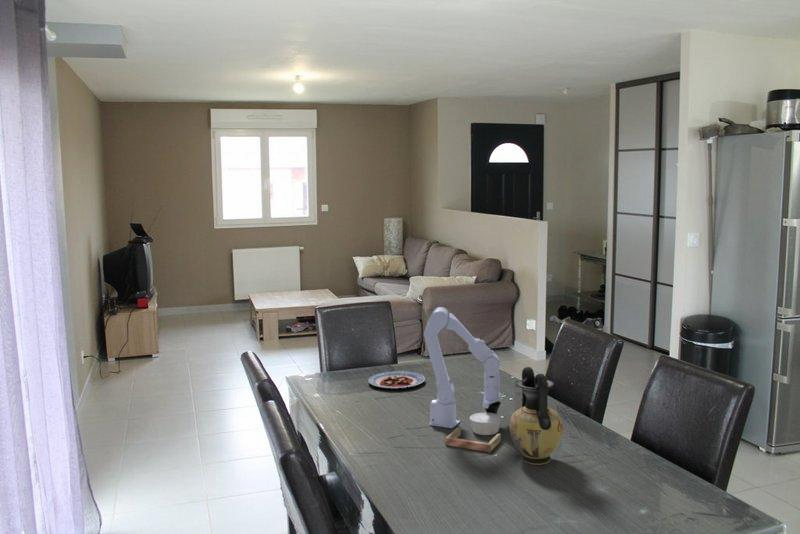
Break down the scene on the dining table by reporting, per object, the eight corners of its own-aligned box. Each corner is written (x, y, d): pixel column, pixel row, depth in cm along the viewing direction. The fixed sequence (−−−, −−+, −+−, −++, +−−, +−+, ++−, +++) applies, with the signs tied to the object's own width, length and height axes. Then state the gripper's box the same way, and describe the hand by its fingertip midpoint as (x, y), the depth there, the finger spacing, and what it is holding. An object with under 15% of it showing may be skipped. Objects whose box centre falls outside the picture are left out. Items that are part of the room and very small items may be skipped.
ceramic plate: (425, 391, 303) (425, 385, 303) (366, 392, 303) (366, 386, 303) (424, 375, 328) (424, 369, 328) (370, 376, 329) (369, 370, 329)
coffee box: (532, 430, 253) (532, 387, 251) (514, 429, 254) (514, 386, 252) (533, 421, 262) (532, 380, 260) (515, 420, 263) (515, 379, 261)
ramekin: (463, 432, 253) (463, 418, 252) (482, 423, 261) (481, 410, 260) (488, 439, 245) (488, 424, 244) (506, 430, 253) (506, 416, 253)
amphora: (499, 454, 231) (498, 367, 227) (542, 445, 238) (542, 360, 234) (529, 474, 215) (529, 380, 211) (574, 464, 222) (574, 373, 218)
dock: (445, 444, 241) (445, 437, 241) (457, 434, 251) (457, 427, 251) (490, 452, 233) (489, 445, 233) (500, 440, 243) (500, 433, 243)
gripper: (495, 392, 249) (495, 429, 251) (508, 381, 262) (508, 416, 264) (477, 390, 252) (477, 426, 254) (490, 379, 265) (490, 414, 267)
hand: (492, 421), depth 259 cm, fingers closed
